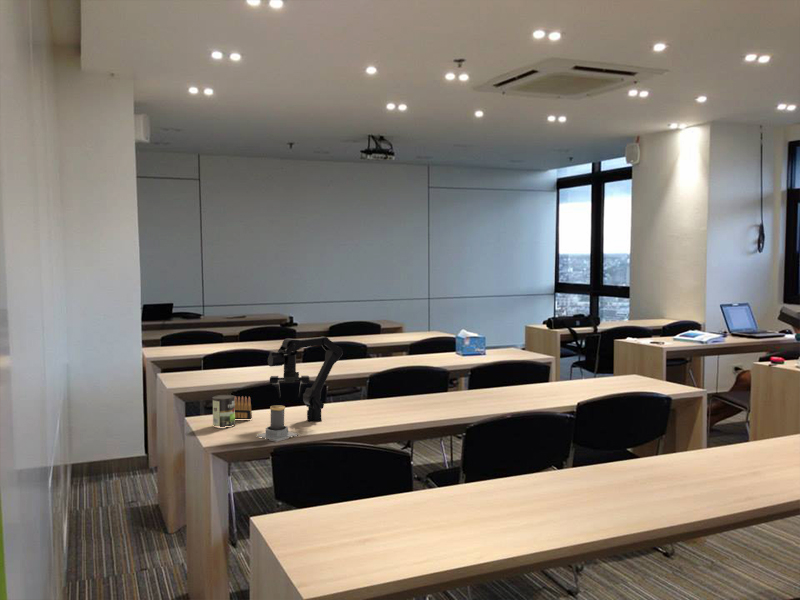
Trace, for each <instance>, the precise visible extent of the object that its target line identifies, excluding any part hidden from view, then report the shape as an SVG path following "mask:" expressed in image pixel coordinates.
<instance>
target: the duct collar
mask: <svg viewBox="0 0 800 600" xmlns="http://www.w3.org/2000/svg"><path fill="white" fill-rule="evenodd" d="M295 435H298V433H296V432H291V431H289V427H288V425H284V429H282V430H270V426H266V427H265V432H263V433H260V434H257V435H255V437H256V436H257V437H262V438H266V439H269V440H268V441H272V442H275V443H277V442H281V441H284V440H287V439H290V438H289V437H291V436H294V437H296V436H295ZM298 436H299V435H298ZM257 437H256V438H257ZM262 438H261V439H262ZM291 438H292V437H291ZM266 439H265V440H266Z"/></svg>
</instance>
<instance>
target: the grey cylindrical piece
mask: <svg viewBox="0 0 800 600" xmlns="http://www.w3.org/2000/svg"><path fill="white" fill-rule="evenodd" d="M269 407H270V408H269V409H270V430H282V429H284V426H285V409H286V406H285V405H279V404H278V405H277V404H276V405H275V404H274V405H271V406H269Z"/></svg>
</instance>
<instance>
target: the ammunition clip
mask: <svg viewBox="0 0 800 600" xmlns="http://www.w3.org/2000/svg"><path fill="white" fill-rule="evenodd" d="M234 396H235V419H251V418H252V419H253V415H252V414H253V412H252V404H251V401H252V400H251V397H250V396H248V398H247V396H246V395H245V397H244V396H243V395H242V396H241V397H240V396H236V395H234Z"/></svg>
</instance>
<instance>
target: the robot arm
mask: <svg viewBox="0 0 800 600" xmlns="http://www.w3.org/2000/svg"><path fill="white" fill-rule="evenodd" d="M316 346H321V347H322V348H323V349H324V351H325V353H324V361H323V363H322V365H321V368H320V370H319V371H318V373H317V376H315V377H316V378H315V379H314V381H313V383H312V385H311V386H310V387H306V388H305V391H304V393H302V391H303V388H304V386H305V385H306V386H307V385H308V384H309V383H310V381H311V379H310V376H309V375H300V372H299V371H297V362H296V361H297V356H301V353H299V352H298V351H299V350H301V349H303V348H309V347H310V348H311V347H316ZM343 353H344V351H343V348H342V347H341V346H338V345H337V344H336V343H335V342H333V341H332V340H331V339H329V338H328V337H327V336H322V335H321V336H319V337H310V338H302V339H301V338H300V339H299V338H298V339H297V338H284V339H283V340H282V343H281V345H280V347H279V349H277V351H269V355H268V358H267V364H268V366H269V367H270V368H272V367H281V366H283V377H279V375H270V377H269V384H272V386H274V387H275V389H276V391H277V395H278V397H279V398H281V390H280V389H281V388H280V382H284V383H286V384H287V383H288V384H289V383H292V384H293V383H295V382H300V384H299V390H298V398H300V397H301V395H302V401H303V403H304V404H305V406H306V407H307V408H308V409H307V410H306V418H307V422H322V409H323V410H324V406H325V404H324V403H323V402H322V400H321V399H322V398H321V397H322V389H323V388H324V385H325V383H326V382H327V379H328V377H329V375H330V372H331V370H332V369H333V367H334V366H335V364H336V363H337V362H338V361H339V360H340V359H341V357H342V356H343Z"/></svg>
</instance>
